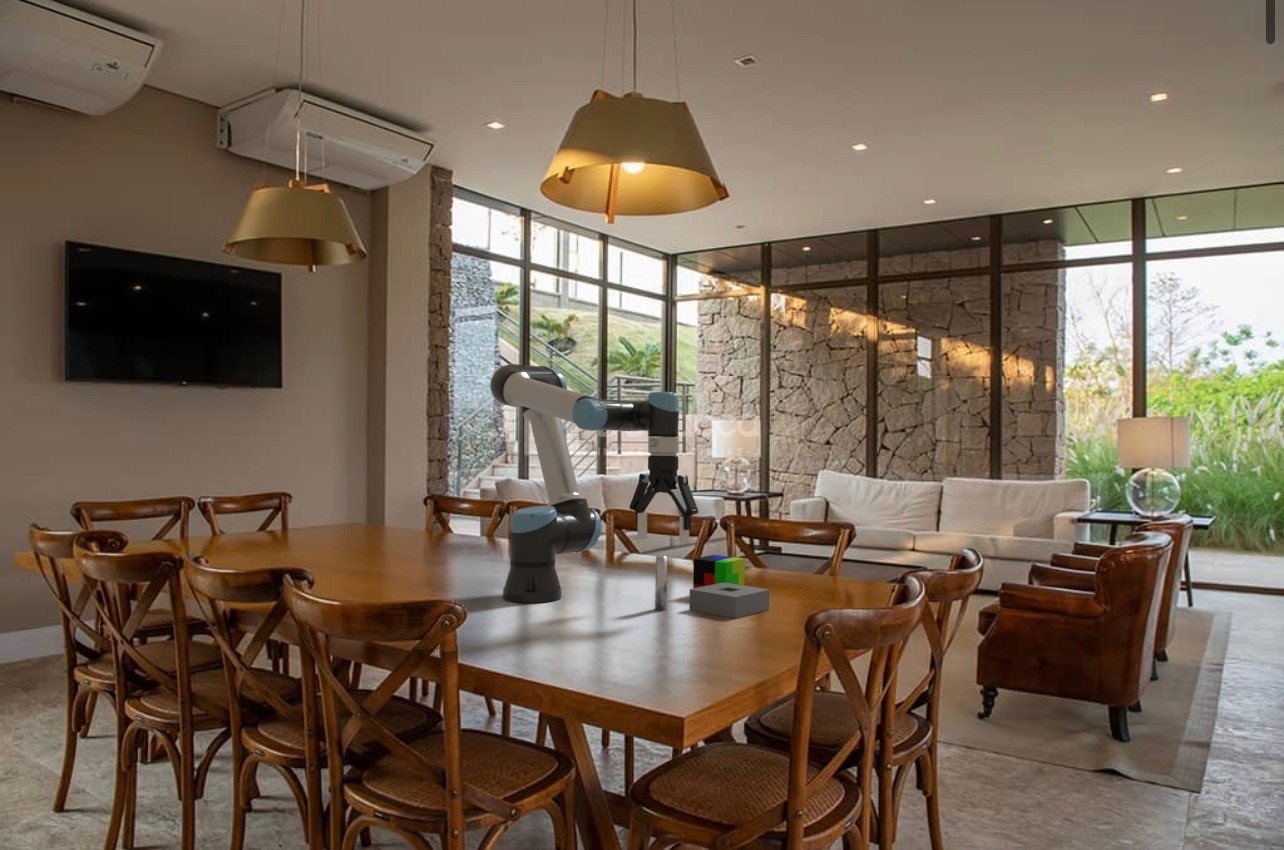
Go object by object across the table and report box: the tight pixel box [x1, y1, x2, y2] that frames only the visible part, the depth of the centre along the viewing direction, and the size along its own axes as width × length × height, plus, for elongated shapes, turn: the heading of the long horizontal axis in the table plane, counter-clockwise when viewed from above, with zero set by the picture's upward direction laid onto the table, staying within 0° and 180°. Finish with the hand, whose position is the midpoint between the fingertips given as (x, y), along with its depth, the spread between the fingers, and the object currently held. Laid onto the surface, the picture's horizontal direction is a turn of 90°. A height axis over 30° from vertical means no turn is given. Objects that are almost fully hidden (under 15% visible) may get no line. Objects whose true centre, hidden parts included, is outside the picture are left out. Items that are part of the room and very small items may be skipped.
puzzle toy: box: [692, 554, 746, 589], centre depth 232 cm, size 10×10×10 cm
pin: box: [654, 555, 668, 612], centre depth 213 cm, size 3×3×13 cm
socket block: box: [689, 583, 770, 619], centre depth 214 cm, size 14×14×5 cm
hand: (662, 541), depth 213 cm, fingers open, 13 cm apart
